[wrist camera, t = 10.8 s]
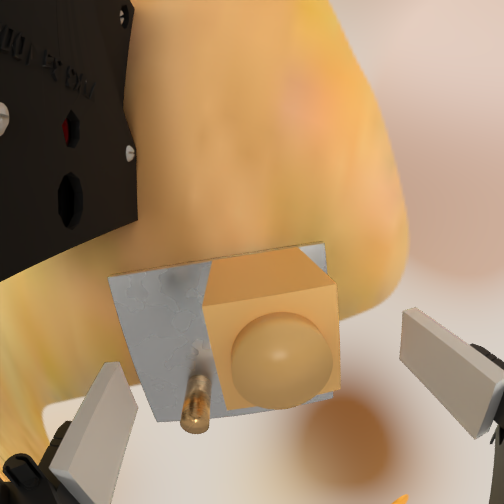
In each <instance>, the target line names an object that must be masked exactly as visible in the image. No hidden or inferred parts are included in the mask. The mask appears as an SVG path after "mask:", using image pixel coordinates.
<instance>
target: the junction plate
mask: <svg viewBox="0 0 504 504" xmlns="http://www.w3.org/2000/svg"><path fill="white" fill-rule="evenodd" d="M294 247H298V248H299V249H300V250H301V251H302V252H304V253H305V254H306V255H307V256H308V257H309V258H310V259H311V260H312V261H313V262H314V263H315V264H316V265H317V266H319V267H320V268H321V269H322V270H323V271H324V272H325V273H326V274H327V265H326V254H325V243H323V242H322V241H320V242H314V243H308V244H301V245H295V246H289V247H282V248H276V249H270V250H263V251H257V252H251V253H244V254H238V255H232V256H225V257H219V258H213V259H207V260H200V261H194V262H188V263H181V264H175V265H169V266H162V267H156V268H150V269H143V270H137V271H131V272H124V273H118V274H112V275H110V276H109V277H108V282H109V286H110V289H111V293H112V297H113V300H114V304H115V307H116V311H117V314H118V318H119V321H120V324H121V327H122V331H123V334H124V337H125V340H126V343H127V346H128V349H129V352H130V355H131V358H132V360H133V363H134V366H135V369H136V372H137V374H138V377H139V380H140V382H141V385H142V387H143V390H144V392H145V395H146V397H147V400H148V402H149V405H150V407H151V409H152V412H153V414H154V417H155V419H156V421H157V422H169V421H180V420H181V414H182V409H183V403H184V398H185V392H186V387H187V382H188V379H189V378H190V377H191V376H193V375H204V376H206V377H207V378H209V379H210V381H211V383H212V388H211V403H210V419H211V418H221V417H229V416H238V415H245V414H251V413H258V412H265V411H271V410H274V409H266V408H261V407H258V406H256V407H249V408H242V409H234V410H227V408H226V404H225V401H224V397H223V393H222V389H221V385H220V381H219V378H218V374H217V370H216V366H215V361H214V357H213V353H212V349H211V345H210V340H209V336H208V332H207V327H206V323H205V319H204V314H203V309H202V304H203V299H204V295H205V290H206V286H207V281H208V277H209V272H210V268H211V264H212V261H213V260H219V259H226V258H232V257H238V256H244V255H251V254H257V253H263V252H269V251H275V250H282V249H288V248H294ZM330 398H333V391H332V392H328V393H323V394H319V395H316V396H315V397H313V398H312V399H311V400H309V401H307V402H305V403H303V404H308V403H312V402H317V401H321V400H326V399H330ZM303 404H301V405H303Z"/></svg>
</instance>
